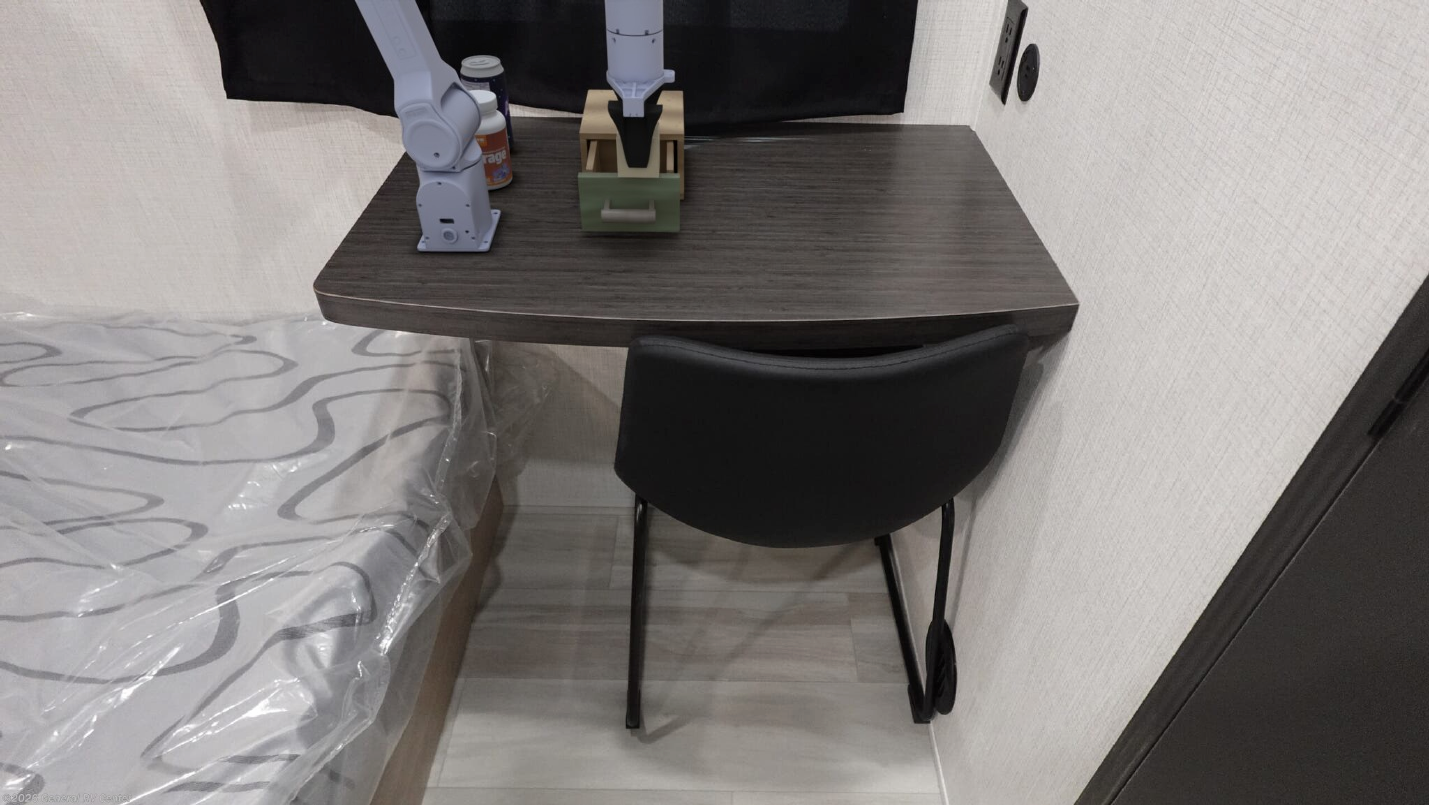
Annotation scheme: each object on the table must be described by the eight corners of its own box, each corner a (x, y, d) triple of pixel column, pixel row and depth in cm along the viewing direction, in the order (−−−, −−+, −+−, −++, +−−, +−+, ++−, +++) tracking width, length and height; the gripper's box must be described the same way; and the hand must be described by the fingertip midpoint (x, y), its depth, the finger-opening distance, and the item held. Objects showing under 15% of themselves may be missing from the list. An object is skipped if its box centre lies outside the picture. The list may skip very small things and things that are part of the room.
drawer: (680, 250, 95) (680, 194, 90) (578, 249, 94) (574, 193, 90) (678, 181, 108) (678, 130, 104) (590, 180, 108) (586, 129, 103)
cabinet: (683, 199, 106) (684, 133, 101) (584, 198, 106) (579, 132, 100) (682, 152, 118) (682, 90, 112) (592, 151, 117) (588, 89, 112)
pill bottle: (469, 195, 106) (454, 108, 99) (460, 175, 110) (445, 90, 103) (518, 187, 108) (507, 101, 101) (507, 168, 112) (496, 84, 105)
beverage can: (518, 155, 115) (506, 66, 108) (476, 160, 114) (462, 70, 106) (510, 139, 119) (498, 52, 112) (469, 144, 118) (455, 56, 110)
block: (659, 177, 92) (658, 138, 89) (618, 177, 92) (616, 137, 89) (659, 160, 95) (659, 121, 92) (620, 160, 95) (618, 121, 92)
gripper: (674, 51, 79) (674, 186, 87) (674, 8, 90) (675, 131, 98) (598, 50, 78) (606, 185, 87) (608, 6, 89) (614, 130, 98)
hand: (638, 156), depth 93 cm, fingers closed on block, 4 cm apart
